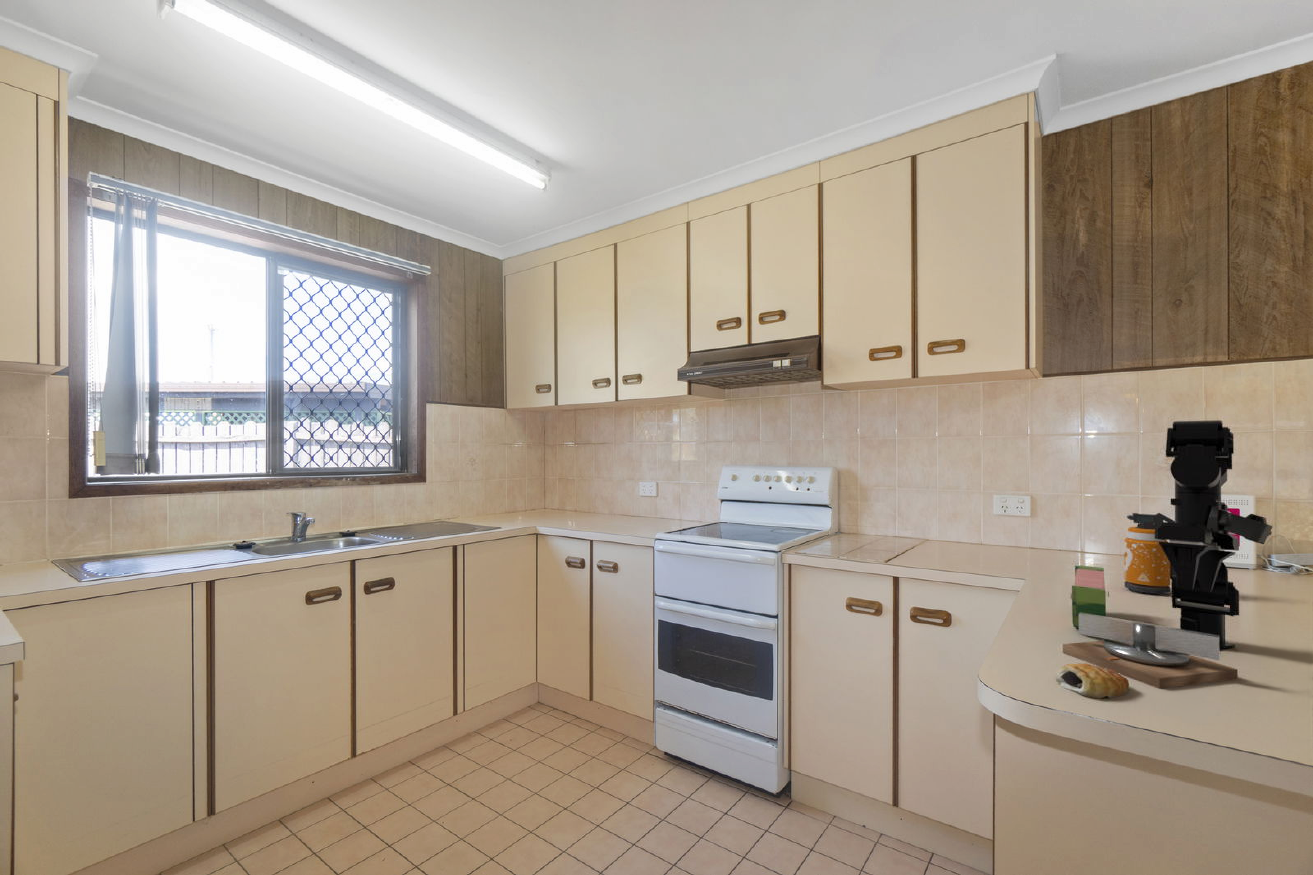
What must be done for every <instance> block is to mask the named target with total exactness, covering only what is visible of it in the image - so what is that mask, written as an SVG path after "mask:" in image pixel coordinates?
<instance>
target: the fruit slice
mask: <svg viewBox="0 0 1313 875" xmlns="http://www.w3.org/2000/svg"><path fill="white" fill-rule="evenodd" d="M1074 567H1075V568H1074V584H1073V585H1071V594H1070V600H1071V610H1072V611H1071V612H1072V613H1071V614H1072V616H1071V618H1072V625H1073V627H1074V628H1078V629H1079V613H1080V612H1082V613H1088V614H1094V615H1100V616H1106V617H1107V615H1106V614H1107V612H1106V611H1107V609H1106V607H1107V606H1106V605H1107V604H1106V602H1107V599H1106V598H1107V597H1108V598H1109V596H1110V595H1109V594H1110V592H1109V590H1108V591H1107V590H1106V585H1105V583H1106V581H1105V569H1104V567H1100V566H1099V567H1097V566H1089V565H1081V564H1080V565H1074ZM1106 592H1107V593H1106Z"/></svg>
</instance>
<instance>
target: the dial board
mask: <svg viewBox="0 0 1313 875" xmlns="http://www.w3.org/2000/svg"><path fill="white" fill-rule="evenodd" d="M1104 640H1105V639H1104ZM1104 640H1095V641H1085V642H1083V641H1082V642H1074V643H1073V642H1072V643H1063V644H1062V654H1065V655H1067V656H1071V657H1074V658H1076V659H1079V660H1081V659H1082V660H1081V661H1084V660H1085V661H1084V662H1086V661H1087V662H1086V663H1088V664H1091V665H1095V664H1096V665H1095V666H1097V665H1098V667H1100V666H1101V667H1102V668H1104V669H1105V668H1107V669H1109V670H1113V671H1115V672H1116V673H1118V674H1119V673H1120V675H1121V676H1123V677H1126V678H1127V677H1128V678H1130V679H1133V680H1136V681H1138V682H1141V683H1143V682H1144V684H1146V685H1150V686H1152V687H1154V688H1157V689H1165V688H1173V687H1182V686H1191V685H1199V683H1200V684H1206V682H1209V683H1216V682H1224V681H1230V680H1231V681H1233V680H1238V678H1239V676H1238V670H1239V669H1237V668H1235V667H1231V666H1227V665H1224V664H1221V663H1218V662H1214V661H1211V660H1208V659H1206V658H1203V657H1199V656H1194V655H1189V664H1187V665H1184V666H1160V665H1152V664H1146V663H1141V662H1136V661H1132V660H1128V659H1124V658H1121V657H1118V656H1115V655H1113V654H1111V653H1109V652H1107V651H1106V650H1105V649H1104Z"/></svg>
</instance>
